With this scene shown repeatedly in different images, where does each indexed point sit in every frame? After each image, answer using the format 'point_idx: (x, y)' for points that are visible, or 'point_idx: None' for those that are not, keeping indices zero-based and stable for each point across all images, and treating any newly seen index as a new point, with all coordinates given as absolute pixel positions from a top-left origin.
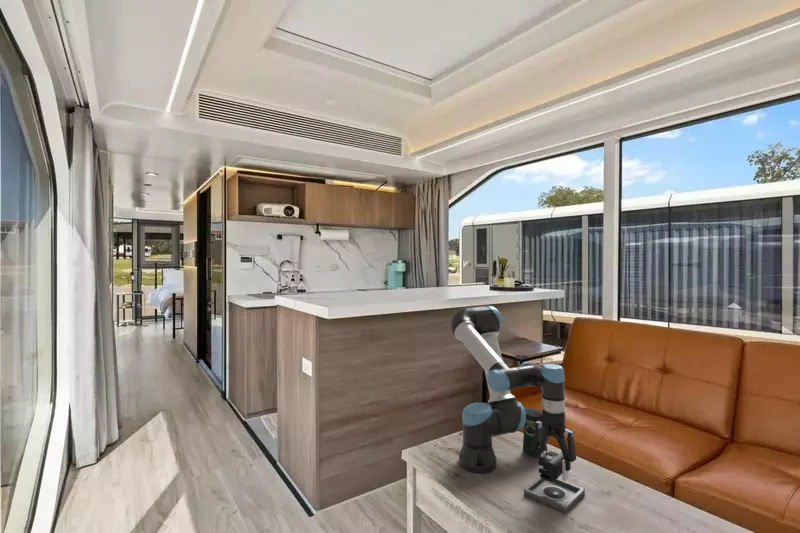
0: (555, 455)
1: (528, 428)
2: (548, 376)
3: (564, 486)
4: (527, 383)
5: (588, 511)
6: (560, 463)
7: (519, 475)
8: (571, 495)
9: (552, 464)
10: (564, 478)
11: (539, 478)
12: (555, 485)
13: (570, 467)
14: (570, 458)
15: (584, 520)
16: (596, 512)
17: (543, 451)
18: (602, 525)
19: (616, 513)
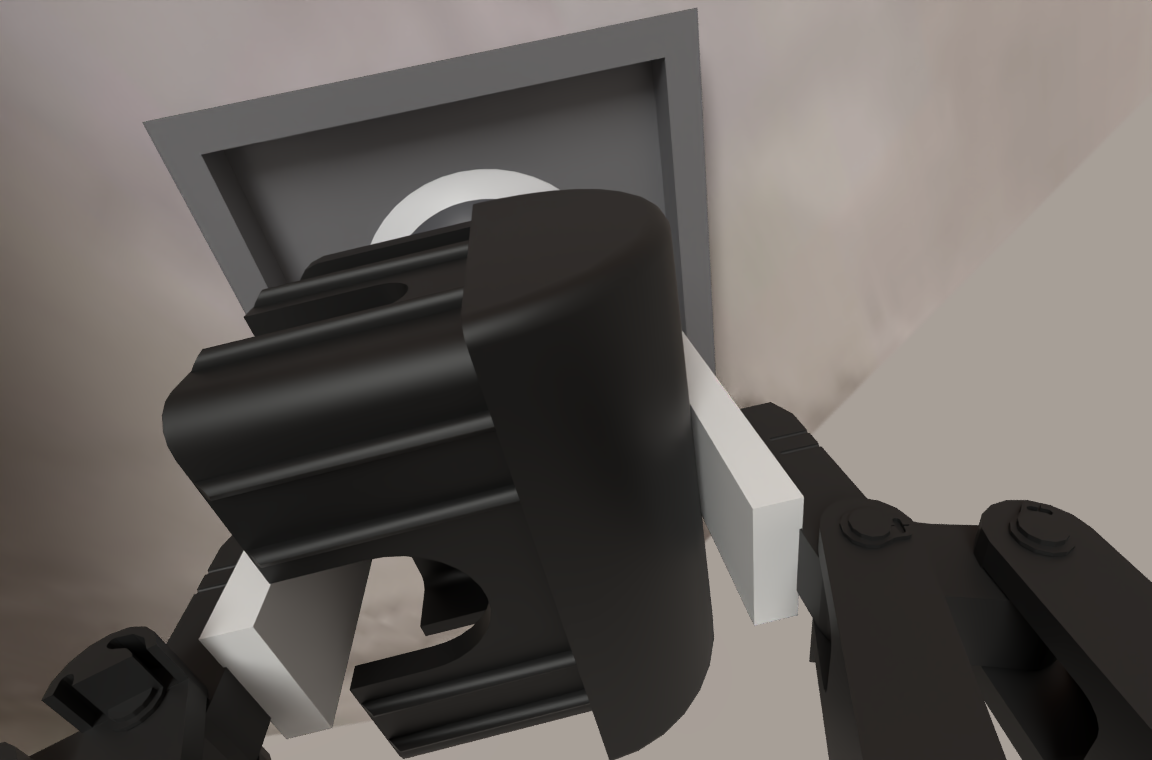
0: (458, 515)
1: None
2: None
3: (466, 103)
4: None
5: (806, 241)
6: (689, 578)
7: (22, 314)
8: None
9: (664, 733)
10: None
11: (253, 290)
12: (401, 179)
13: (804, 434)
14: (1003, 687)
15: (822, 356)
16: (859, 196)
17: (227, 684)
18: (934, 299)
19: (1003, 49)
